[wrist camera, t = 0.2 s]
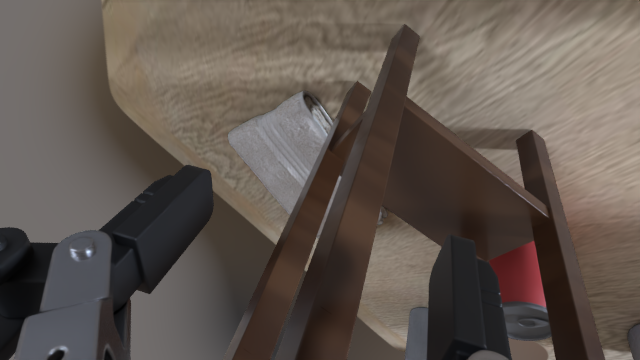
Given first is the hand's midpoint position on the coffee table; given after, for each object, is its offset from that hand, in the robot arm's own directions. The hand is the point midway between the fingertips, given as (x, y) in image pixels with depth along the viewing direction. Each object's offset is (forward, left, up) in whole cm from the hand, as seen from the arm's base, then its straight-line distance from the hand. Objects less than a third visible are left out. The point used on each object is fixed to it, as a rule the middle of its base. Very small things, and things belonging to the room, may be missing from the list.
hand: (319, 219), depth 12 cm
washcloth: (+19, +4, -23) cm, 30 cm away
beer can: (+9, +23, -23) cm, 34 cm away
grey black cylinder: (+31, +32, -23) cm, 50 cm away
